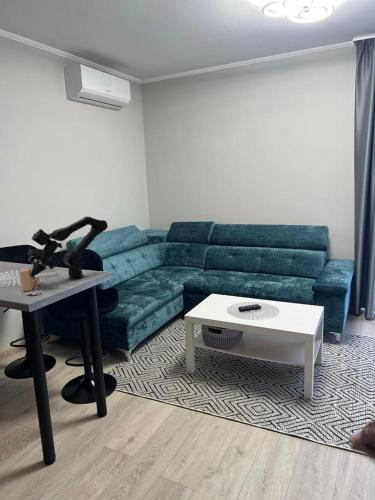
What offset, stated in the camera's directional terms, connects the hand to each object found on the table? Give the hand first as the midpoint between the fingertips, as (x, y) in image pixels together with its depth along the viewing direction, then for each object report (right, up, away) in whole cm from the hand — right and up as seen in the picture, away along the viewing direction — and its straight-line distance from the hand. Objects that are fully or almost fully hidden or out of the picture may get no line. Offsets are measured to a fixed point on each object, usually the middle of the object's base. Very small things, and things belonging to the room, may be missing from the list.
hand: (31, 276), depth 186 cm
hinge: (-5, -3, +25) cm, 26 cm away
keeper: (-6, -6, +7) cm, 11 cm away
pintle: (-3, -5, +10) cm, 12 cm away
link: (-2, -6, +5) cm, 8 cm away
